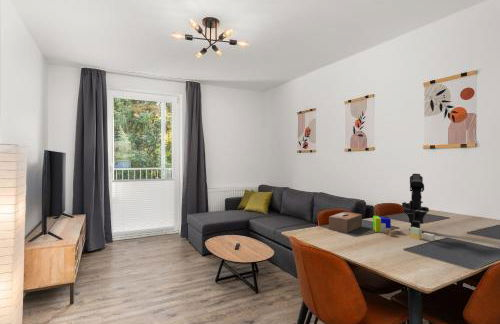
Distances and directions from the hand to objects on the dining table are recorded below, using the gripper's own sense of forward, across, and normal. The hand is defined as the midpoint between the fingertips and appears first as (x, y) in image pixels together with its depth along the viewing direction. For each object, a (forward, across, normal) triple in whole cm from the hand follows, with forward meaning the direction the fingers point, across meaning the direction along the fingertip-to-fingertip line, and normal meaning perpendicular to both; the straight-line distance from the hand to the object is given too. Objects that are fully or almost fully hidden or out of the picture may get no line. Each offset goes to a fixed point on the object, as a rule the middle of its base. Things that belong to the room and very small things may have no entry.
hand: (415, 222), depth 193 cm
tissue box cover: (+11, +22, -42) cm, 49 cm away
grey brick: (+11, -6, +5) cm, 13 cm away
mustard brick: (+11, 0, 0) cm, 11 cm away
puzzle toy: (+11, +4, -24) cm, 27 cm away
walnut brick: (+11, +9, -13) cm, 19 cm away
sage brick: (+7, 0, 0) cm, 7 cm away
